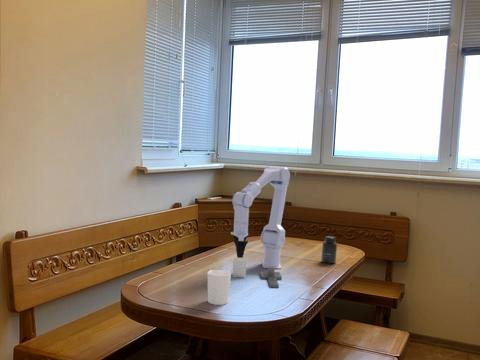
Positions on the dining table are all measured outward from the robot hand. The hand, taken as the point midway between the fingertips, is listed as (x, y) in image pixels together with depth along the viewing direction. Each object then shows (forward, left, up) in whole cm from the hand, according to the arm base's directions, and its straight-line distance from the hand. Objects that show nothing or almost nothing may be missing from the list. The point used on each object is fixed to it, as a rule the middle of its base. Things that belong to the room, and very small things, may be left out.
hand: (239, 255), depth 199 cm
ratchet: (+6, +13, -8) cm, 16 cm away
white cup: (+34, -8, -9) cm, 36 cm away
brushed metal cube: (0, 0, -8) cm, 8 cm away
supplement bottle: (-29, +43, -9) cm, 53 cm away
